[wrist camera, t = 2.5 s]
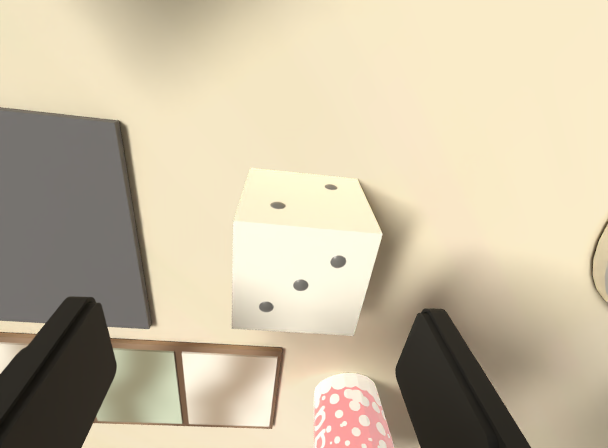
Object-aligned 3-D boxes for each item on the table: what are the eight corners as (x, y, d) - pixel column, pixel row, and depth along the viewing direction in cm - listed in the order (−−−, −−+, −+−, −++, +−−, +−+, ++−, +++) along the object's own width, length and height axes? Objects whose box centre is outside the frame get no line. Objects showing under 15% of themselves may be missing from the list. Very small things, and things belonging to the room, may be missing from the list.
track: (282, 347, 21) (281, 353, 20) (272, 424, 25) (272, 430, 25) (-169, 323, 19) (-178, 329, 18) (-93, 412, 23) (-99, 418, 23)
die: (357, 176, 15) (384, 232, 11) (338, 264, 18) (353, 339, 13) (250, 165, 15) (232, 219, 10) (246, 257, 17) (231, 332, 13)
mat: (118, 120, 13) (114, 122, 13) (151, 323, 19) (149, 329, 19) (-206, 84, 12) (-221, 85, 12) (-67, 311, 18) (-73, 316, 18)
